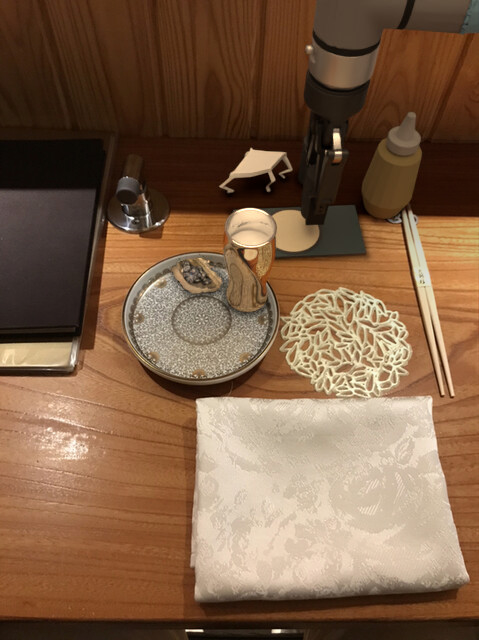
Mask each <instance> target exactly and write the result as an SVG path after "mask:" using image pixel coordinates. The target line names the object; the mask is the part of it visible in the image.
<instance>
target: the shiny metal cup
mask: <svg viewBox="0 0 479 640" xmlns="http://www.w3.org/2000/svg"><path fill="white" fill-rule="evenodd" d="M238 209H239V208H238ZM261 209H262V208H256V207H243V208H240V209H239V210H237V209H236V210H237V211H235V212H233V211H232V213H231V214H230V215H228V217H227V218H226V220H225V222H224V232H223V239H222V255H223V256H222V257H223V261H224V266H225V270H226V273H227V276H228V285H227V288H226V294H225V296H226V300H227V302H228V304H229V305H230V306H231V307H232V308H233V309H235V310H236V311H238V312H243V313H252V312H255V311H258V310H260V309H261V308H263V307H264V306H265V304H266V303H267V300H268V297H269V295H268V293H269V292H268V286H267V281H268V278H269V276H270V273H271V271H272V269H273V266H274V263H275V260H276V259H275V254H276V245H277V225H276V222H275V220H274V218H273V217H272V216H271V215H270V214H269V213H267V212H265V211H263V210H261Z"/></svg>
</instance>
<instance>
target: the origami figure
mask: <svg viewBox="0 0 479 640" xmlns="http://www.w3.org/2000/svg"><path fill="white" fill-rule="evenodd" d="M287 153H288V152H284V151H266V150H260V149H259V150H258V149H253V147H250V149H249V151H246V152H245V154H244V158H243V159H242V160H241V162H239V164H238V165H237V166H236V168H235V169H234V170H233V171H231V172H230V173H229V177H228V178H227V179H226V180H225V181H224V182H223V183H221V184H220V185H219V188H221V189H223V190H226V191H227V192H226V193H227V194H232V193H234V192H235V190H234V189H232V188H230V187H227V186H226V185H227V184H228V183H230V182H231V181H232V180H234V179H239V178H240V179H241V178H251V177H256V176H259V175H263V174H267V173H268V175H269V179H270V182H269V183H268V184H267V185H266V186H265V190H266V192H268V193H270V192H271V187H270V186H271V185H272V184H273V183H274V182H276V178H275V175H274V173H273V169H274V168H275V167H276V166H277V165H279V163H280V162H281V161H283V163H285V165H286V167H287V168H288V169H285V170H283V171H280V172H279V173H278V175H279V176H280V177H281V178H282V179H285V178H286V176H285V175H284V174H286V173H290V172H292V171H293V166H292V163H290V160H289V158H288V156H287Z"/></svg>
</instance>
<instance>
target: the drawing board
mask: <svg viewBox="0 0 479 640" xmlns="http://www.w3.org/2000/svg"><path fill="white" fill-rule="evenodd" d="M260 209H261V210H263V211H265V212H267V213H269V214H270V215H271V216H272V217H273V218H274V220H275V222H276V225H277V245H276V254H275V260H278V259H302V258H305V259H306V258H323V257H324V258H326V257H345V256H346V257H348V256H351V257H352V256H366V255H367V250H366V246H365V240H364V237H363V232H362V229H361V224H360V221H359V216H358V212H357V211H358V210H357V208H356V205H355V204H345V205H329V207H328V211H327V216H326V217H325V221H324V225H306V224H305V220H306V219H304V218H303V217H302V215H301V206H295V207H293V206H292V207H291V206H290V207H268V208H267V207H266V208H265V207H264V208H260ZM237 210H239V208H237V209H232V213H233V212H235V211H237Z"/></svg>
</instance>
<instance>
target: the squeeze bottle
mask: <svg viewBox="0 0 479 640" xmlns="http://www.w3.org/2000/svg"><path fill="white" fill-rule="evenodd" d="M416 120H417V114H416V113H415V112H414V111H408V112H407V114H406V116H405V117H404V119H403V120H402V122H401V123H400V125H398V126H395V127H392V128H391V129H390V130H389V131H388V134H387V137H385V138H383V139H382V140H381V141H380V142H379V143H378V145H377V147H376V149H375V152H374V154H373V157H372V159H371V162H370V164H369V167H368V169H367V171H366V173H365V176H364V178H363V180H362V185H361V189H360V190H361V195H362V202H363V206H364V209H365V211H366V212H367V213H368V214H369V215H370V216H372V217H374V218H377V219H381V220H386V219H391V218H394V217H396V216H397V215H398V214H399V213H400V212H401V211H402V210H403V209H404V208H405V207H406V206H407V205H408V204H409V202H410V201H411V200H412V199H413V194H414V190H415V185H416V181H417V177H418V174H419V168H420V166H421V160H422V155H423V151H422V149H421V146H420V143H421V138H422V137H421V134H420V133H419V132H418V131H417V130H416V122H417V121H416Z"/></svg>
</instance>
